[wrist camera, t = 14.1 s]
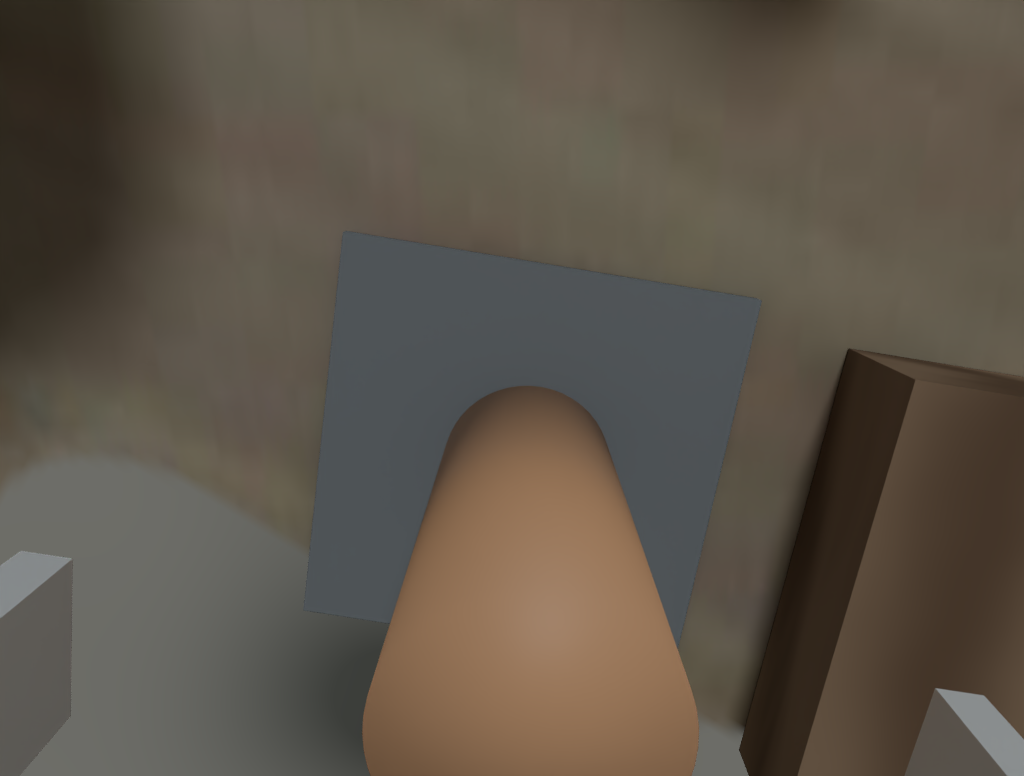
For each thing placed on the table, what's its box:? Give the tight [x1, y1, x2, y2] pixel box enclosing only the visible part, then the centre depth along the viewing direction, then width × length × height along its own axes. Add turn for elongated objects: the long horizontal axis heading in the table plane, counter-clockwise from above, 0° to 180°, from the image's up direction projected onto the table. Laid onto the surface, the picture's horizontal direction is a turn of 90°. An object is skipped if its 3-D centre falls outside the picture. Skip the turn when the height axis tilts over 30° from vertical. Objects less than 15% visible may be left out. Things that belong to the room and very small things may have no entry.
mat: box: [304, 231, 762, 649], centre depth 23 cm, size 12×12×1 cm
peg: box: [362, 386, 699, 776], centre depth 17 cm, size 5×5×12 cm
